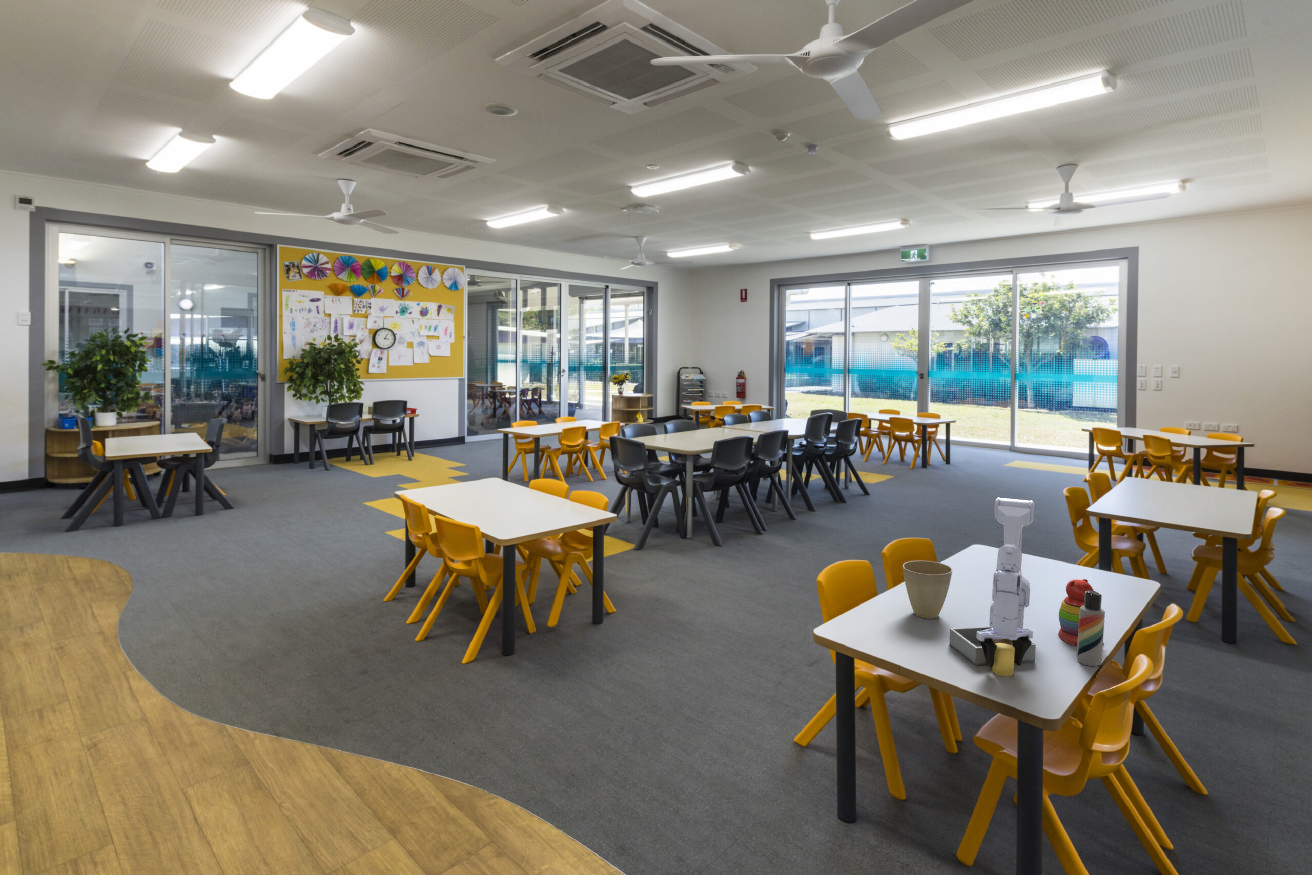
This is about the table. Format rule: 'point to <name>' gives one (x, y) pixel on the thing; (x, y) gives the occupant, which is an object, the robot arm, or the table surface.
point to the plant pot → (927, 586)
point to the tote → (978, 645)
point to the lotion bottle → (1091, 630)
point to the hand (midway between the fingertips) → (1003, 664)
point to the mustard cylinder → (1004, 660)
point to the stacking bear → (1072, 610)
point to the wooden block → (1003, 641)
